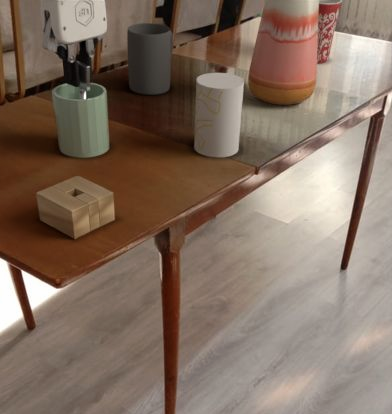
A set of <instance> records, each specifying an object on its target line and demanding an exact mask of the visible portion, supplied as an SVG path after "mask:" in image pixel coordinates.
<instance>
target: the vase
mask: <svg viewBox="0 0 392 414" xmlns="http://www.w3.org/2000/svg"><path fill="white" fill-rule="evenodd" d="M318 16H319V0H264V5H263V9H262V13H261V17H260V21H259V26H258V30H257V34H256V37H255V38H256V39H255V43H254V48H253V52H252V55H251V61H250V65H249V70H248V76H247V87H248V90H249V92H250V93H251V94H252V95H253V96H254V97H255V98H257V99H258V100H260V101H263V102H265V103H267V104H272V105H280V106H289V105H296V104H299V103H302V102H304V101H306V100H308V99H309V98H310V97H311V96H312V95H313V94H314V92H315V90H316V85H317V77H318V76H317V73H318V63H317V48H318Z"/></svg>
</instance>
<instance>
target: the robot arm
mask: <svg viewBox="0 0 392 414" xmlns="http://www.w3.org/2000/svg"><path fill="white" fill-rule="evenodd" d="M39 5H40V18H41V26H42V32H43V39H42V48H43V49H45V50H47V51H50V52H54V53H55V54H56V55H57V56H58V58H59V59H60V60H61V61H62V71H63V72H62V73H63V78H64V79H63V80H64V84H65V83H66V84H69V85H71V86H74V87H79V86H80V79H79V67H78V62H77V61H79V62H81V63H83V64H85V65H88V66H90V83H94V80H93V79H94V78H93V66H92V58H93V57H94V56H95V49H96V48H97V46H98V43H99V42H100V41H101V40H102V39H103V38H105V37H106V34H107V33H106V32H107V30H108V19H107V8H106V0H39ZM76 43H77V44H76ZM75 44H76V45H77V53H75Z"/></svg>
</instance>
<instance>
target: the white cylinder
mask: <svg viewBox="0 0 392 414" xmlns="http://www.w3.org/2000/svg"><path fill="white" fill-rule="evenodd" d="M244 84H245V81H244V78H242V77H240V76H238V75H237V74H236V75H235V74H231V73H226V72H208V73H204V74H201V75H199V76H197V78H196V83H195V85H196V86H195V111H194V112H195V113H194V114H195V115H194V117H195V118H194V140H193V141H194V142H193V144H194V145H193V149H194V151H195V152H197V153H198V154H199V155H203V156H206V157H209V158H228V157H231V156H234V155H236V154H237V153H238V152H239V146H240V134H241V121H242V109H243V97H244V88H245V87H244V86H245V85H244Z"/></svg>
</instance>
